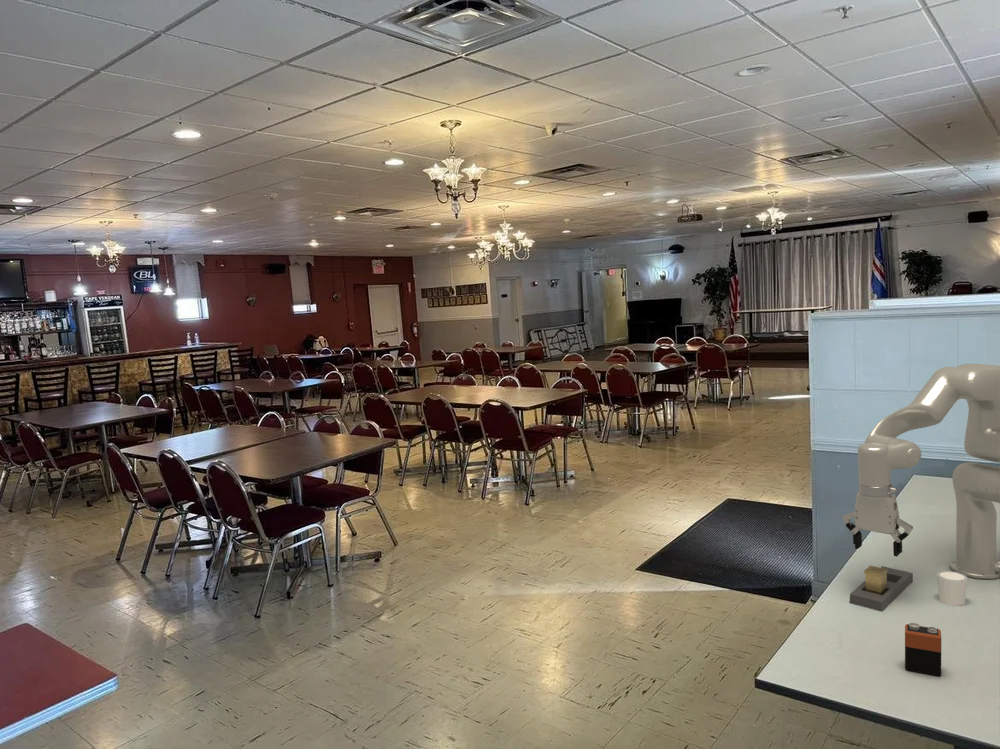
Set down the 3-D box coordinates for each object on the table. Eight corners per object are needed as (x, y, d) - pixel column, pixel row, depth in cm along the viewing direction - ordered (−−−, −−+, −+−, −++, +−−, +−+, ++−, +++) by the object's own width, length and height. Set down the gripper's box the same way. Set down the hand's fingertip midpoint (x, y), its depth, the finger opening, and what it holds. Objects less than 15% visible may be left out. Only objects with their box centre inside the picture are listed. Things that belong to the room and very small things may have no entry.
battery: (905, 661, 158) (905, 619, 157) (940, 667, 154) (940, 624, 153) (904, 670, 154) (904, 627, 153) (941, 677, 151) (941, 633, 149)
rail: (912, 581, 197) (912, 572, 197) (882, 611, 181) (882, 602, 181) (882, 574, 203) (882, 566, 203) (849, 602, 187) (849, 594, 187)
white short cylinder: (963, 596, 186) (963, 571, 186) (971, 607, 180) (971, 581, 179) (933, 594, 189) (933, 569, 188) (940, 605, 182) (940, 580, 182)
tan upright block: (887, 597, 189) (887, 569, 188) (881, 603, 186) (881, 574, 185) (870, 593, 192) (870, 565, 191) (864, 598, 189) (864, 570, 188)
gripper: (916, 490, 182) (917, 553, 184) (846, 481, 194) (849, 540, 197) (906, 498, 177) (908, 562, 179) (835, 488, 189) (838, 549, 192)
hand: (877, 551), depth 188 cm, fingers open, 9 cm apart
